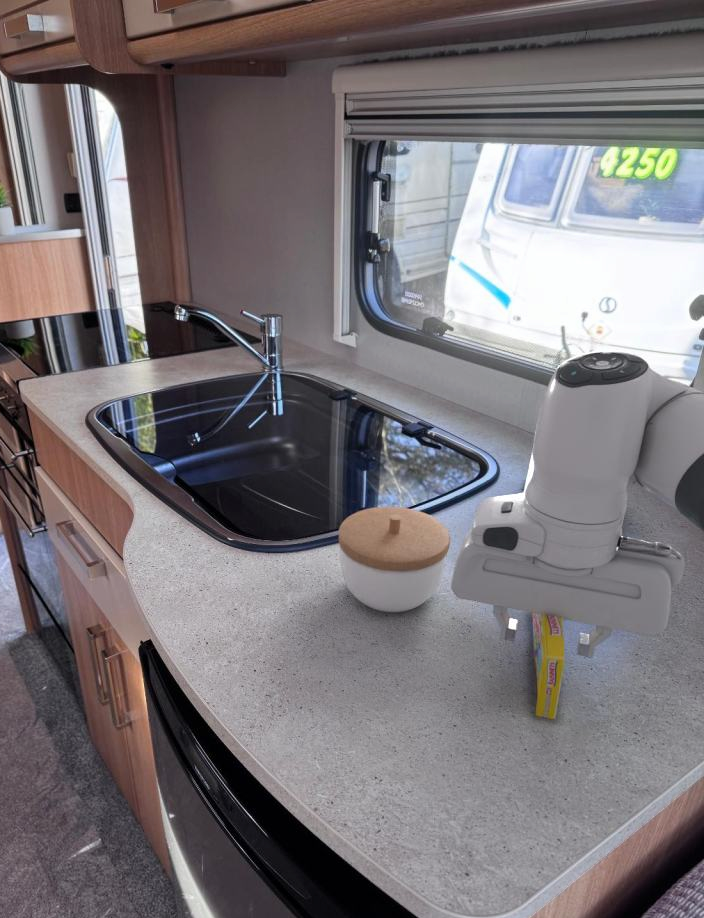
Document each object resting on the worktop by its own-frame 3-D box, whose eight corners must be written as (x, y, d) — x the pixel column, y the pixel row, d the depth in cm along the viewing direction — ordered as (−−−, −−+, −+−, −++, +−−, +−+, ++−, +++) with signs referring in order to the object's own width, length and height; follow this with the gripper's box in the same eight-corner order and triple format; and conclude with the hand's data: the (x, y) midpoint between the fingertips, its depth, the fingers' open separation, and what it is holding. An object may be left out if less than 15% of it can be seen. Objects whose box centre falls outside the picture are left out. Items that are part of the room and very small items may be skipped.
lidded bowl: (413, 644, 79) (421, 559, 73) (316, 606, 85) (317, 525, 79) (459, 589, 88) (469, 510, 83) (369, 558, 94) (373, 482, 89)
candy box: (528, 621, 83) (539, 560, 79) (547, 624, 82) (560, 562, 78) (531, 722, 69) (545, 655, 65) (554, 726, 68) (570, 658, 64)
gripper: (687, 531, 67) (652, 648, 74) (466, 496, 73) (452, 607, 79) (694, 566, 62) (656, 688, 69) (455, 525, 68) (442, 642, 74)
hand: (545, 645), depth 74 cm, fingers open, 6 cm apart
